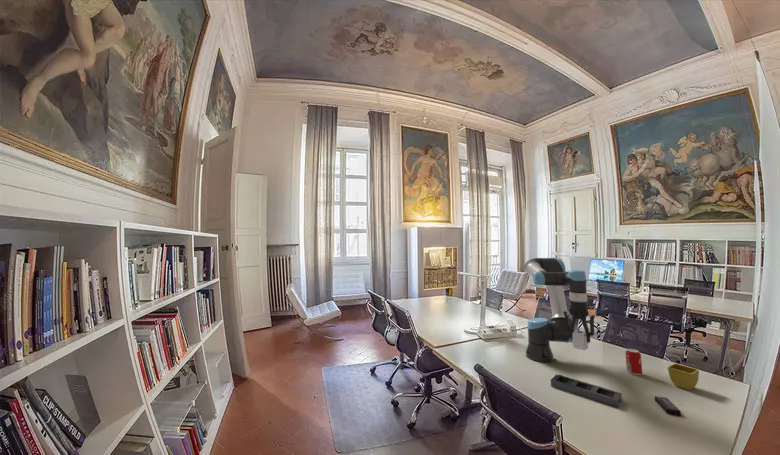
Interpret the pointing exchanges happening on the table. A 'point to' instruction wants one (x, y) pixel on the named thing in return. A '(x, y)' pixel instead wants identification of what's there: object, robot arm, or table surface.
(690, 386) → the flower pot
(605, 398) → the rack rail
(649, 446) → the table surface
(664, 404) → the multiport hub
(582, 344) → the block
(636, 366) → the beverage can
